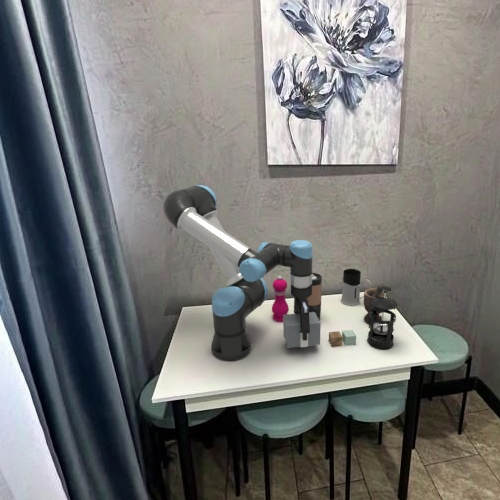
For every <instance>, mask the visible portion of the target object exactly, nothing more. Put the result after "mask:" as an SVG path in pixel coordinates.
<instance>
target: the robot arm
mask: <svg viewBox="0 0 500 500" xmlns="http://www.w3.org/2000/svg"><path fill="white" fill-rule="evenodd" d="M216 207H217V196H216V194H215V192H214V191H213V190H212V189H211V188H210V187H208V186H206V185H200V184H199V185H193V186H189V187H186V188H185V187H184V188H182V189H177V190H174V191H171V192H170V193H168V195H167V196H166V197H165V199H164V202H163V207H162V209H163V213H164V216H165V218H166V219H167V221H168V222H169V224H170V225H172V227H175V228H176V229H177V230H179V231H180V232H184V231H185V232H186V233H188V234H189V235H190V236H192V237H194V238H195V239H197V240H198V241H200V242H202V243H203V244H204V245H205V246H206V247H208V248H209V250H210V251H211V253H212V256H213V257H214V259H215V261H216V262H217V264H218V266H219V267H220V269H221V271H222V272H223V274H224V276H225V278H226V279H227V283H226V287H222V288H220V289H218V290H217V291H215V292H214V294H213V295H212V298H211V310H212V317H213V320H212V321H213V329H214V330H213V331H214V333H213V337H212V339H211V343H210V346H211V348H210V350H211V353H212V355H213V357H215V358H216V359H218V360H220V361H225V362H235V361H239V360H242V359H244V358H246V357H247V356H248V355H250V353H251V351H252V341H251V340H252V339H251V338H250V336H249V334H248V331H247V328H246V318H247V317H249V315H250V314H251V313H253V312H254V311H255V310H256V309H258V308H259V307H261V306H262V305H263V303H264V302H265V301H266V300H267V299H268V294H269V288H268V285H267V283H266V281H265V279H264V277H265V276H266V275H267V274H268V273H270V272H271V271H272V270H273V269H275V268H277V267H278V266H279V267H285V268H290V273H289V274H290V277H289V278H290V295H291V296H292V297H293V314H300V324H301V331H299V333H300V347H299V348H307V347H309V346H308V333H310V322H309V309H310V308H309V307H308V300H306V299H307V298H308V297H310V296H311V295H312V277H314V275H313V274H312V273H313V257H314V252H313V244H312V242H310V241H308V240H306V239H295V240H293V241H290V243H289V244H290V245H288V244H287V245H286V244H283V243H282V244H281V243H275V242H267V241H266V242H262V243H260V245H259V247H258V249H257V251H255V250H254V249H253V248H251V247H249V246H248V245H246V244H244V243H243V242H242V241H240V240H238V239H237V238H235V237H234V236H233V235H231V234H229V233H228V232H227V231H225V229H224V227H223V226H222V224H221V222H220V220H219V219H218V216H217V214H218V212H219V211H218V209H217V208H216Z"/></svg>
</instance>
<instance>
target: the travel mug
mask: <svg viewBox="0 0 500 500" xmlns="http://www.w3.org/2000/svg"><path fill="white" fill-rule="evenodd" d="M312 274H313V275H314V277H312V295H311V296H310V297H308V298H307V299H306V300H308V307H309V308H310V309H309V312H315V313H316V315H317V317H318V319H319V321H320V322H321V312H322V282H323V281H322V280H323V279H322V278H323V277H322V275H321V274H319V273H315V272H312Z"/></svg>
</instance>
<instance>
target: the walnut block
mask: <svg viewBox="0 0 500 500" xmlns="http://www.w3.org/2000/svg"><path fill="white" fill-rule="evenodd" d="M328 342H329V344H330V346H331V348H336V347H343V337H342V332H340V331H329V332H328Z"/></svg>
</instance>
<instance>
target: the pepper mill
mask: <svg viewBox="0 0 500 500" xmlns="http://www.w3.org/2000/svg"><path fill="white" fill-rule="evenodd" d="M287 288H288V282H287V280H286V279H284V278H283V276H281V275H278V276H277V278H276V279H274V281H273V282H272V289H274V290H273V294H274V296H275V298H274V301H273V303H272V305H271V312H272V319H273V321H276V322H279V323H281V322H283V315H286V314H288V313H289V310H290V309H289V307H290V306H289V304H288V302H287V300H286V296H285V295H286V294H287V290H286V289H287Z"/></svg>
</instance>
